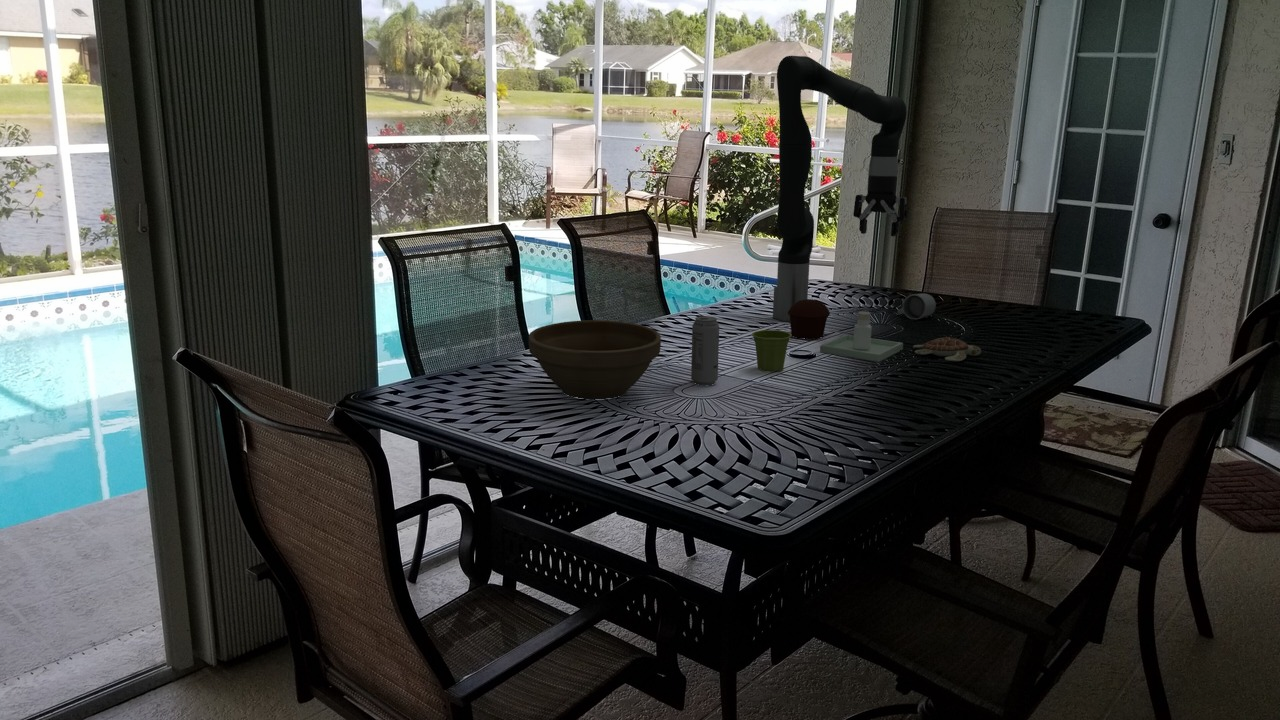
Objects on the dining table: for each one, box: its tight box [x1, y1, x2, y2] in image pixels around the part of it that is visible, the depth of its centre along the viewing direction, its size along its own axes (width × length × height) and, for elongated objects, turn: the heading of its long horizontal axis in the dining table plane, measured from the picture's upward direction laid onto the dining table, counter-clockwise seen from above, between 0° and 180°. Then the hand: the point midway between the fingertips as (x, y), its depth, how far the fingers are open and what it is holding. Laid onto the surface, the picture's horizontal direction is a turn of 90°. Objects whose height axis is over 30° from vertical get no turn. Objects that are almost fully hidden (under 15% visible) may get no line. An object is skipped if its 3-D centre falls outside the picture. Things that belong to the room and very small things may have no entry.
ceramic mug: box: [897, 292, 937, 321], centre depth 286 cm, size 11×8×8 cm
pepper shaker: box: [853, 311, 872, 350], centre depth 243 cm, size 4×4×10 cm
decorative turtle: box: [912, 336, 982, 362], centre depth 241 cm, size 18×17×5 cm
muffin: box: [788, 298, 831, 340], centre depth 259 cm, size 12×11×10 cm
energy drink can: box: [690, 315, 720, 386], centre depth 212 cm, size 6×6×15 cm
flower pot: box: [528, 319, 662, 399], centre depth 204 cm, size 28×28×13 cm
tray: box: [819, 333, 904, 363], centre depth 244 cm, size 16×16×2 cm
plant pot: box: [751, 329, 793, 373], centre depth 225 cm, size 9×9×9 cm
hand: (878, 234), depth 254 cm, fingers open, 8 cm apart
